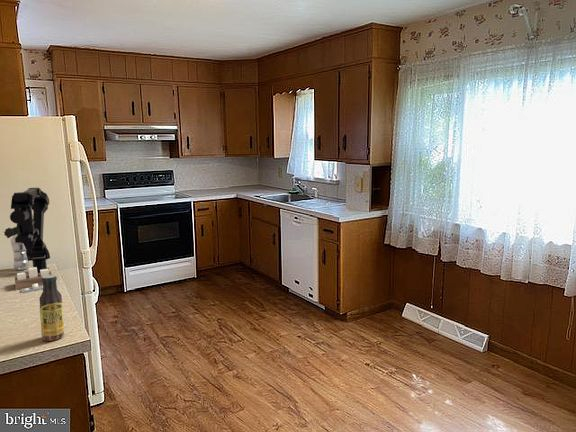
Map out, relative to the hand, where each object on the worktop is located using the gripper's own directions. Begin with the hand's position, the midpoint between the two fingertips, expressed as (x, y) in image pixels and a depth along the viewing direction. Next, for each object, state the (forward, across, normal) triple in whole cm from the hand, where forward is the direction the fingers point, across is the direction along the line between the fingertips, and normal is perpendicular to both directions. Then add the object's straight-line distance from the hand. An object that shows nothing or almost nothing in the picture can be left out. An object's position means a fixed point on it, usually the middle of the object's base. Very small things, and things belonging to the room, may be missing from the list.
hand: (29, 253), depth 196 cm
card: (+12, +17, +4) cm, 21 cm away
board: (+12, +9, +2) cm, 15 cm away
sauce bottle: (+12, +75, +19) cm, 78 cm away
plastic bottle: (+12, -22, -8) cm, 26 cm away
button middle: (+10, +9, +2) cm, 13 cm away
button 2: (+11, +8, +7) cm, 15 cm away
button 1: (+11, +10, -2) cm, 15 cm away
